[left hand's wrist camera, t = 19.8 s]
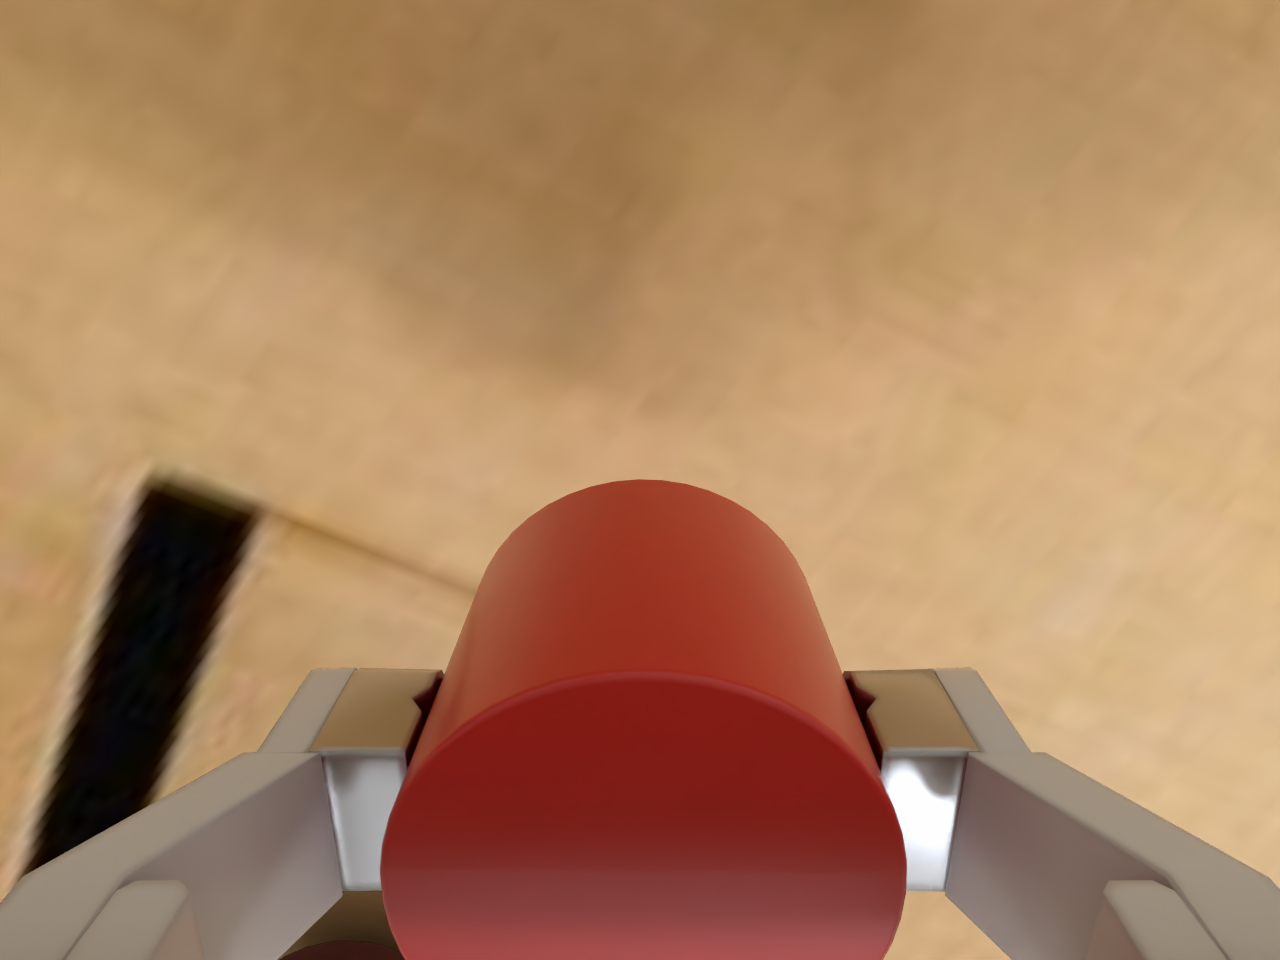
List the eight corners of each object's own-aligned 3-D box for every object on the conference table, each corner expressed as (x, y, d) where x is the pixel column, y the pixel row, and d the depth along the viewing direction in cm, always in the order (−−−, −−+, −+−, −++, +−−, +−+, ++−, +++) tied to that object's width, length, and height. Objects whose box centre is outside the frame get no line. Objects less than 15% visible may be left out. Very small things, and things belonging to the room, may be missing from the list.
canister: (828, 753, 13) (922, 1054, 8) (513, 794, 13) (448, 1105, 9) (797, 451, 11) (893, 635, 7) (436, 506, 11) (308, 715, 7)
